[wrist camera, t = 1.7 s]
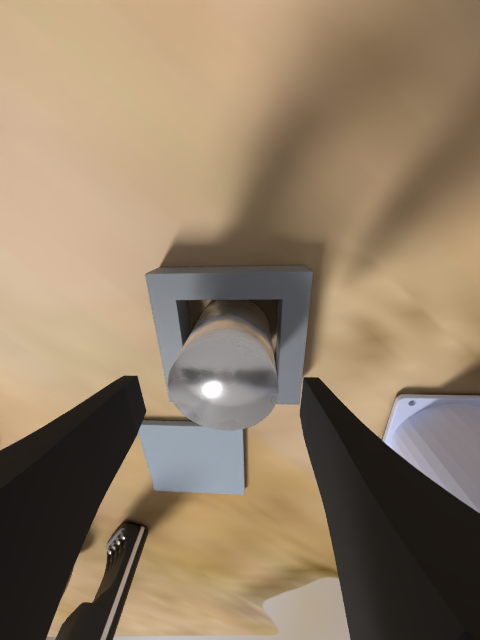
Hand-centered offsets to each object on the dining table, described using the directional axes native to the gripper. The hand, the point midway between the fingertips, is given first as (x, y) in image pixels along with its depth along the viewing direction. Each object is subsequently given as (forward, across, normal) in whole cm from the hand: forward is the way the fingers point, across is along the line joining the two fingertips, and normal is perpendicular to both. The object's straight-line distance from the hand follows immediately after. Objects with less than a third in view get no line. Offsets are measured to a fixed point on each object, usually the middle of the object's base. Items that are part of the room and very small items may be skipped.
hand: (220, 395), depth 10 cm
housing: (+6, 0, 0) cm, 6 cm away
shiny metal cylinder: (+6, 0, 0) cm, 6 cm away
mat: (+6, +4, +13) cm, 15 cm away
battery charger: (+6, +14, +27) cm, 31 cm away
